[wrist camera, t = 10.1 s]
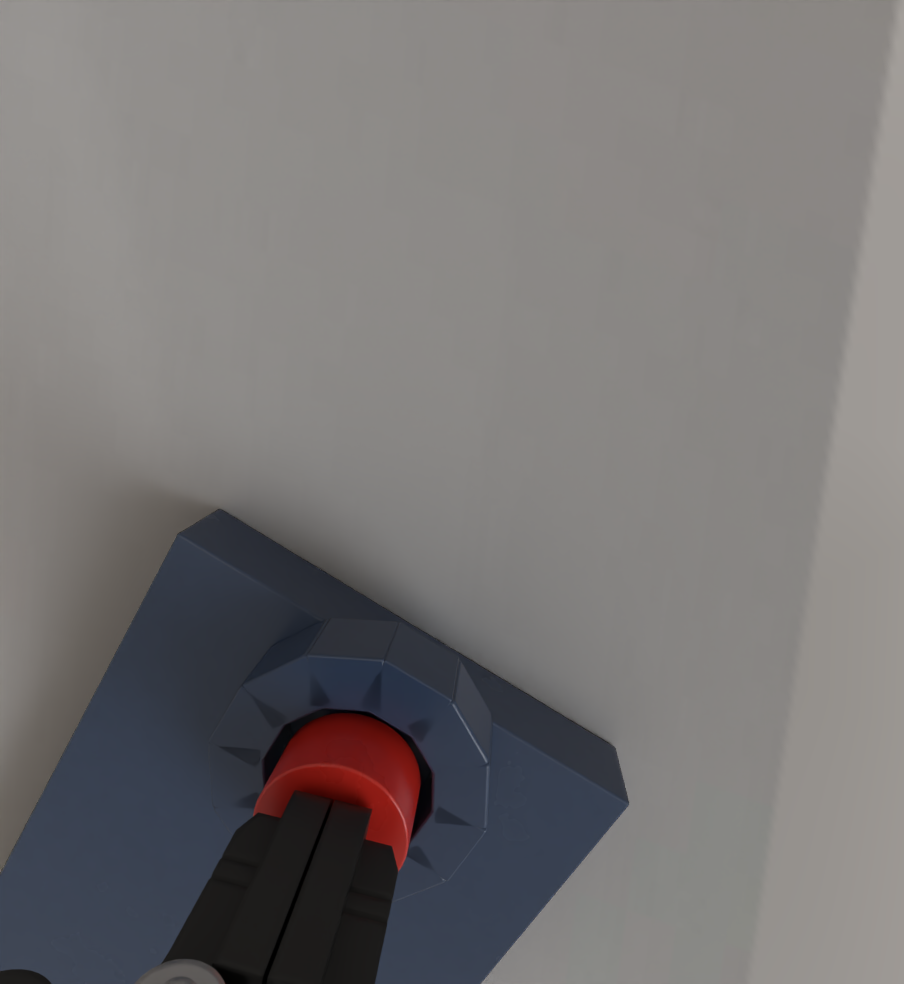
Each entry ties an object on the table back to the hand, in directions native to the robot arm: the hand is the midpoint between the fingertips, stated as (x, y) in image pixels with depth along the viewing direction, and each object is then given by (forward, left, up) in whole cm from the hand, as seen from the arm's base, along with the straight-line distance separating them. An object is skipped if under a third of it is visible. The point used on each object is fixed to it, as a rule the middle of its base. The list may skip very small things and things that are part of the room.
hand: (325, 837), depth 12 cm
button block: (+5, +5, -5) cm, 9 cm away
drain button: (0, 0, -2) cm, 2 cm away
